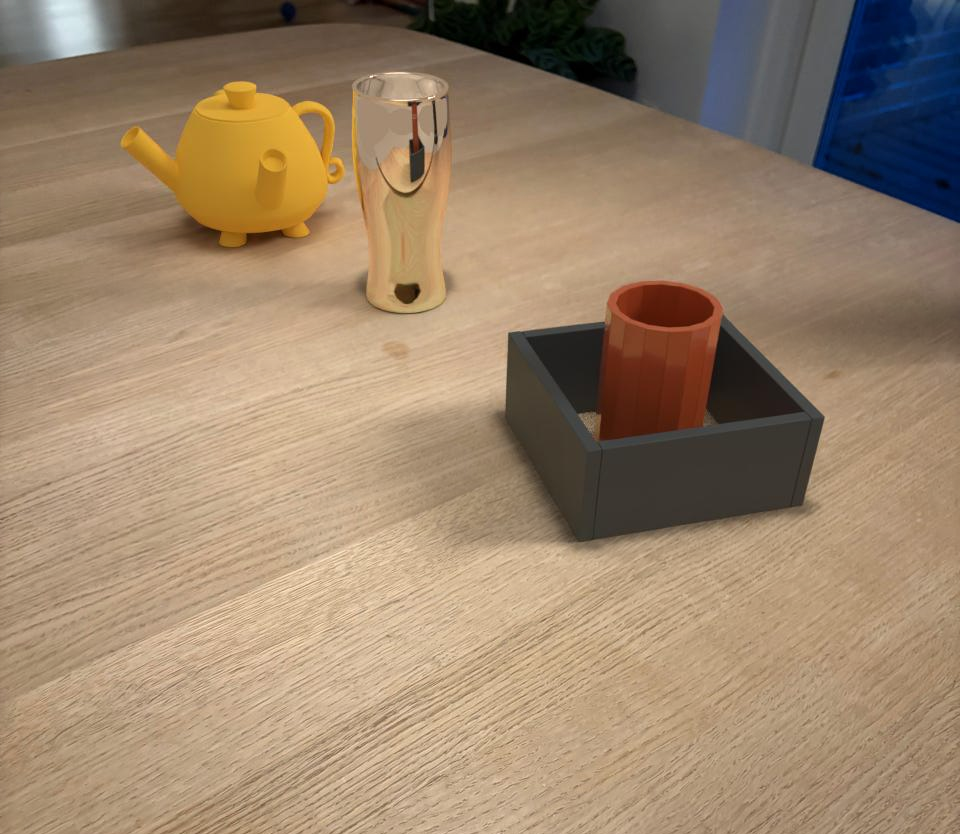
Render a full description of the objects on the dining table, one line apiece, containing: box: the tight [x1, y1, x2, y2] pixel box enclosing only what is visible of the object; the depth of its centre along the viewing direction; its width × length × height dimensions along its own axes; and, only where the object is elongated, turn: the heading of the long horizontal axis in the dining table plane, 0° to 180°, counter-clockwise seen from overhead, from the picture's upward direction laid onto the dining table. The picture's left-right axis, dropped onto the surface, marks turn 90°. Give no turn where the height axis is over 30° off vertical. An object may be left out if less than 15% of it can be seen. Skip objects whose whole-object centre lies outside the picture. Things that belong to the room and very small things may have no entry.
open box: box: [504, 313, 826, 543], centre depth 66 cm, size 14×14×7 cm
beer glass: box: [351, 71, 453, 314], centre depth 81 cm, size 7×7×15 cm
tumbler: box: [593, 280, 724, 442], centre depth 64 cm, size 6×6×10 cm
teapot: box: [120, 80, 345, 248], centre depth 91 cm, size 14×14×11 cm
